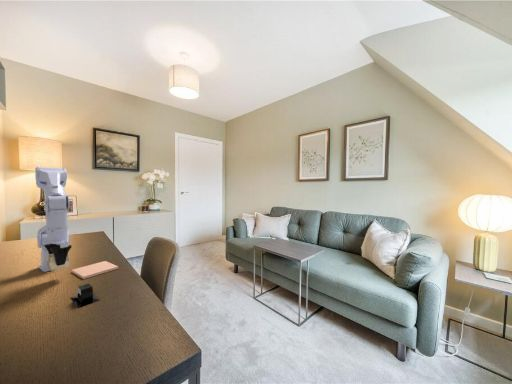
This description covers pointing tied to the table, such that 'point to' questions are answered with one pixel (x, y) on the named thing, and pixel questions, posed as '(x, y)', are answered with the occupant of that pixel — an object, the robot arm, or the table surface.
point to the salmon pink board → (94, 269)
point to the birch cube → (52, 264)
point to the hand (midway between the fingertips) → (58, 263)
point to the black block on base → (84, 296)
